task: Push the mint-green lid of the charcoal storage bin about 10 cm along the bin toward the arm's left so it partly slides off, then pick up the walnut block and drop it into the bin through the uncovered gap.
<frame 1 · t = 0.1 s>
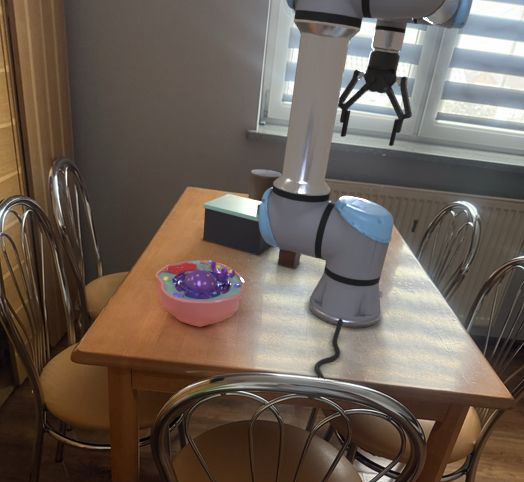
hand: (366, 140, 139), 28 cm above the table, tool pointing down, fingers open, 13 cm apart
pillar candle: (261, 217, 163), on the table
bin: (241, 240, 141), on the table
block: (288, 263, 131), on the table
lid: (245, 202, 136), point 11 cm above the table, slide at 0.0 cm
cell model: (198, 317, 100), on the table
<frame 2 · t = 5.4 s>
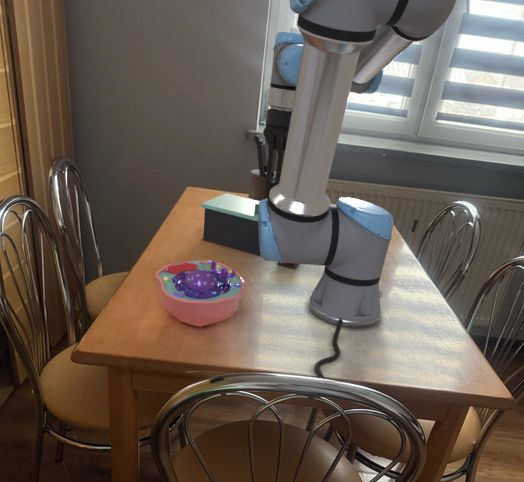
hand: (270, 206, 133), 11 cm above the table, tool pointing down, fingers closed
lid: (242, 202, 136), point 11 cm above the table, slide at 0.7 cm, touching gripper
everything else where it was.
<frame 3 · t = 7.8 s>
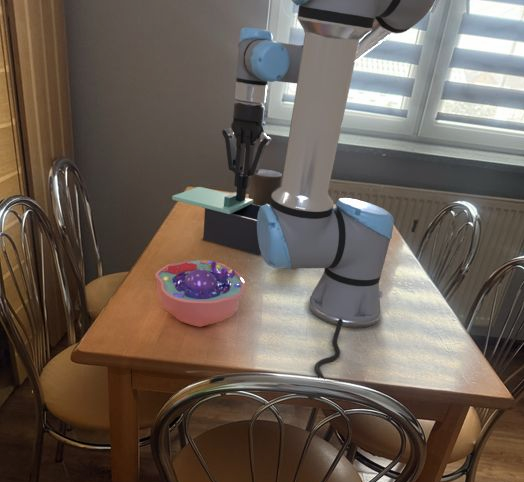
hand: (240, 199, 136), 11 cm above the table, tool pointing down, fingers closed
lid: (213, 195, 138), point 11 cm above the table, slide at 9.5 cm
everything else where it was.
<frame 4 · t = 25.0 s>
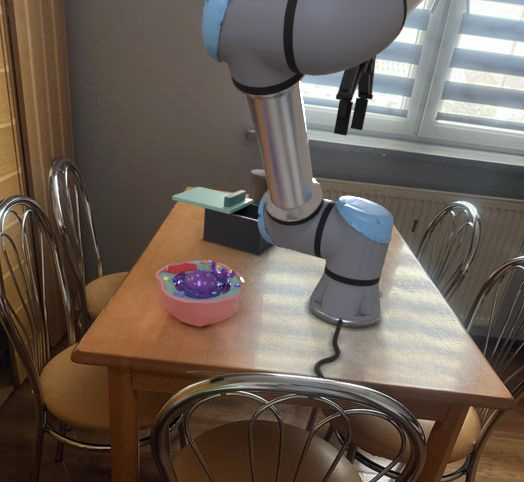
hand: (348, 131, 115), 33 cm above the table, tool pointing down, fingers open, 13 cm apart
block: (251, 240, 140), point 1 cm above the table, touching bin
everything else where it was.
at the end: lid slide at 9.5 cm; block inside the target area in the bin (3.0 cm from its centre), point 0.8 cm above the bin's base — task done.
